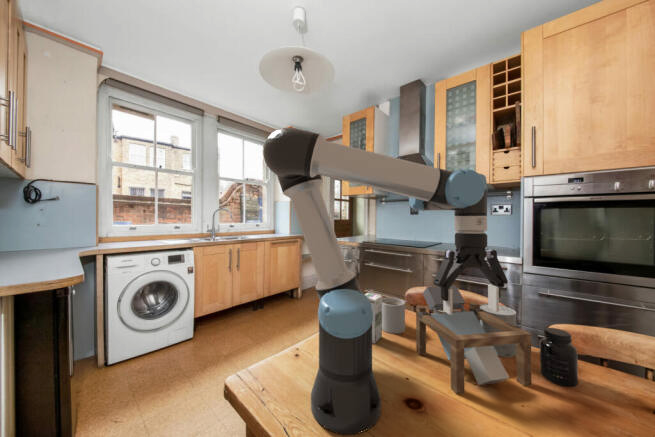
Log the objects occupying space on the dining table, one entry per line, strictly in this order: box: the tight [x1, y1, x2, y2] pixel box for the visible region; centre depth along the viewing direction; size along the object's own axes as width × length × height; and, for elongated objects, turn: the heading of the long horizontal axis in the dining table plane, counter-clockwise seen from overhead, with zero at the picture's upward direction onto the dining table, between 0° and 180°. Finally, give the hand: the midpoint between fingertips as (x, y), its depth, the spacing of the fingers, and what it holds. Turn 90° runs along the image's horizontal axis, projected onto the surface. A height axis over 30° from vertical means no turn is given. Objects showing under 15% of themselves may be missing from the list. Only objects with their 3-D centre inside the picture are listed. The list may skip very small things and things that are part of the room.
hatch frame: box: [415, 301, 533, 395], centre depth 65 cm, size 20×18×14 cm
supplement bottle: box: [539, 327, 579, 389], centre depth 60 cm, size 7×7×12 cm
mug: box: [382, 297, 406, 335], centre depth 89 cm, size 11×10×10 cm
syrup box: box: [364, 292, 383, 344], centre depth 81 cm, size 6×6×14 cm
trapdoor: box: [422, 284, 498, 361], centre depth 70 cm, size 14×20×4 cm
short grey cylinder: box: [480, 303, 517, 358], centre depth 74 cm, size 10×10×12 cm
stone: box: [464, 346, 510, 386], centre depth 59 cm, size 5×5×7 cm
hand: (471, 311), depth 64 cm, fingers open, 13 cm apart
